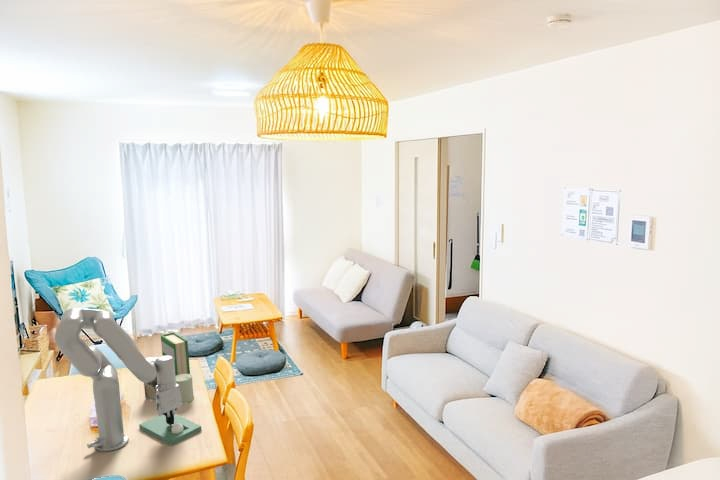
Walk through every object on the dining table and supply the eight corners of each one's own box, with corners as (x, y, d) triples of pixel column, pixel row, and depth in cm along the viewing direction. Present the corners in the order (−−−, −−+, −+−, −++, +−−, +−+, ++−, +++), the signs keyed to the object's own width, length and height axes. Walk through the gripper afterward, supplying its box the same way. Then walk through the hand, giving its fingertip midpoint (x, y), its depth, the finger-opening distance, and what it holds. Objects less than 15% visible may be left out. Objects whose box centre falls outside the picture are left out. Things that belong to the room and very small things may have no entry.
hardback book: (190, 383, 281) (187, 340, 277) (177, 387, 276) (173, 343, 272) (177, 373, 294) (174, 332, 290) (164, 377, 289) (160, 335, 285)
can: (188, 404, 257) (186, 381, 255) (170, 402, 259) (168, 379, 257) (197, 395, 266) (195, 373, 264) (180, 394, 268) (178, 372, 266)
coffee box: (168, 396, 266) (165, 366, 264) (159, 402, 260) (156, 371, 258) (154, 393, 270) (151, 363, 267) (144, 399, 264) (141, 368, 261)
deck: (171, 445, 221) (170, 441, 221) (139, 428, 236) (139, 424, 235) (201, 430, 233) (201, 425, 233) (169, 414, 247) (169, 410, 247)
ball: (172, 437, 226) (168, 433, 230) (183, 437, 228) (180, 433, 232) (174, 425, 226) (171, 421, 230) (186, 425, 229) (182, 421, 233)
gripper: (156, 393, 222) (160, 433, 225) (186, 380, 234) (190, 419, 237) (146, 388, 227) (150, 428, 230) (176, 376, 239) (180, 414, 242)
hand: (170, 423), depth 234 cm, fingers closed
